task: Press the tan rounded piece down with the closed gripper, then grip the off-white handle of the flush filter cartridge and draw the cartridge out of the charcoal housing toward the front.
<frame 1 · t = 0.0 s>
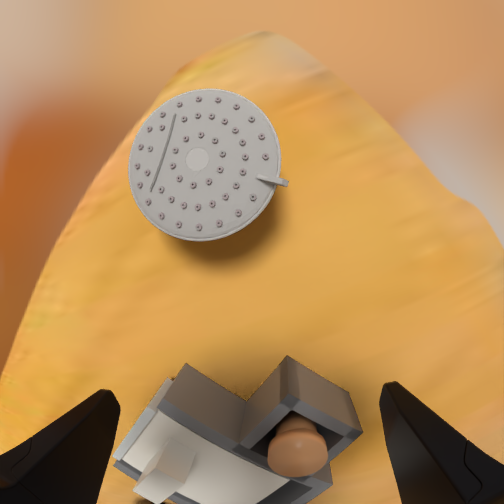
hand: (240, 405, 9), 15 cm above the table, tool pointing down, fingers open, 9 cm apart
cartridge: (196, 470, 21), point 5 cm above the table, slide at 0.0 cm
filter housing: (225, 443, 26), on the table
showerhead: (223, 176, 23), on the table
tan rounded piece: (296, 441, 19), point 6 cm above the table, slide at 0.0 cm
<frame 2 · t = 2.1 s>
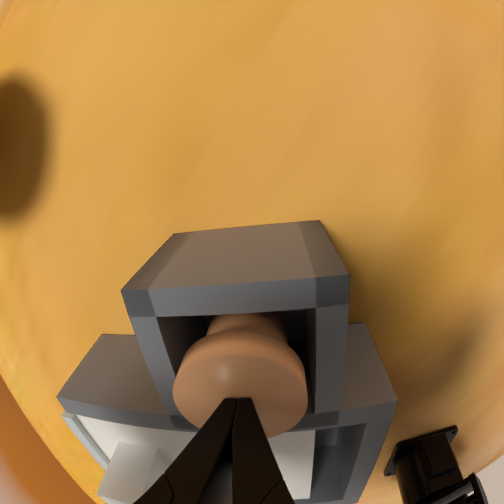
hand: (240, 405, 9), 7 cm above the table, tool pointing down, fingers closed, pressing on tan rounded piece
cartridge: (193, 467, 14), point 5 cm above the table, slide at 0.0 cm
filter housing: (236, 403, 19), on the table
tan rounded piece: (244, 362, 10), point 5 cm above the table, slide at 0.2 cm, touching gripper
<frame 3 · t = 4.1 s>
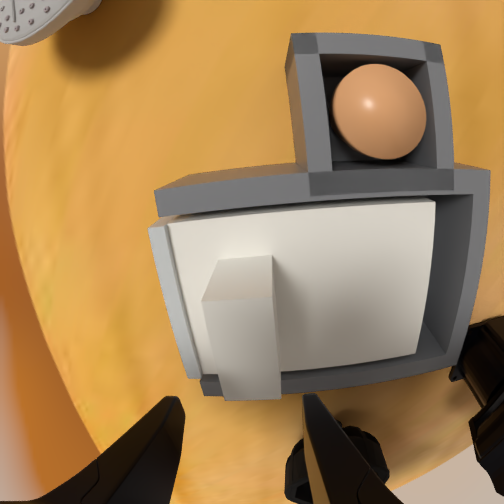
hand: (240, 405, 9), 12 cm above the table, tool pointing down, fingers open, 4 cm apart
cartridge: (303, 298, 14), point 5 cm above the table, slide at 0.0 cm
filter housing: (325, 254, 19), on the table
showerhead: (94, 1, 14), on the table
filter: (341, 422, 26), on the table
tan rounded piece: (368, 114, 13), point 4 cm above the table, slide at 1.8 cm
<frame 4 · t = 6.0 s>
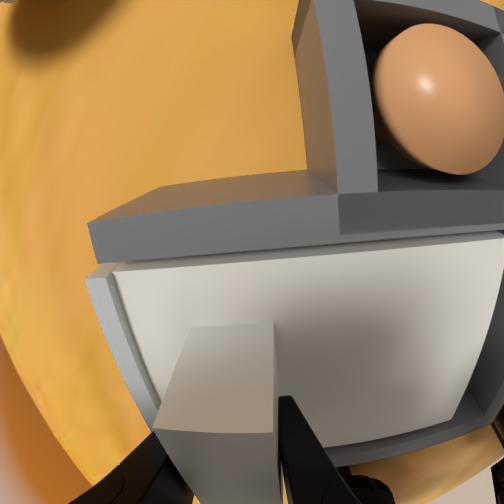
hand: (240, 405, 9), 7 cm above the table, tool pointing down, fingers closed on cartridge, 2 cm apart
cartridge: (317, 374, 9), point 5 cm above the table, slide at 0.0 cm, touching gripper
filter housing: (344, 293, 14), on the table
filter: (349, 465, 20), on the table
tan rounded piece: (420, 102, 8), point 4 cm above the table, slide at 1.8 cm
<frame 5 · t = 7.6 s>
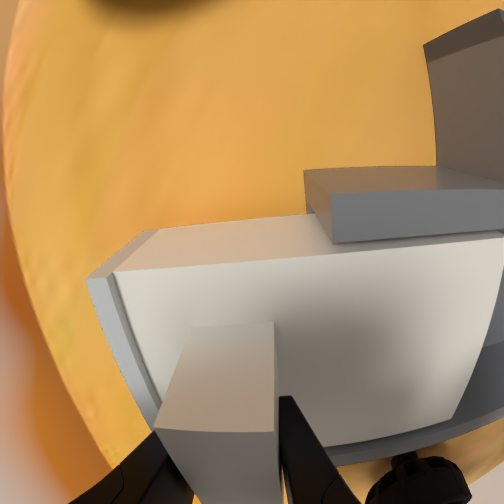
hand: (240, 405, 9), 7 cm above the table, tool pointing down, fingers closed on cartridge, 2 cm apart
cartridge: (317, 374, 9), point 5 cm above the table, slide at 6.3 cm, touching gripper
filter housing: (451, 279, 14), on the table
filter: (415, 450, 20), on the table
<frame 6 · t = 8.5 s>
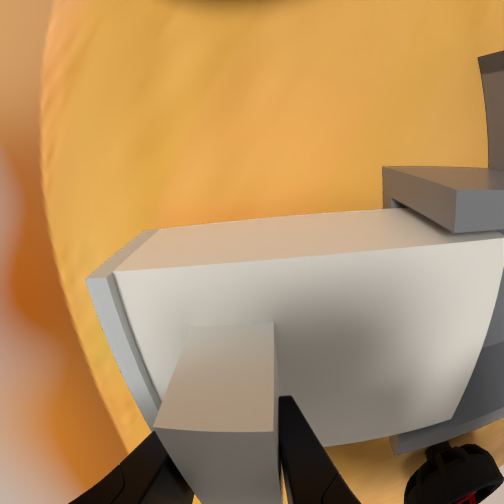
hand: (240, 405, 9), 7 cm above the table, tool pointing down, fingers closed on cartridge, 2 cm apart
cartridge: (317, 374, 9), point 5 cm above the table, slide at 9.9 cm, touching gripper
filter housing: (495, 272, 13), on the table
filter: (446, 440, 20), on the table
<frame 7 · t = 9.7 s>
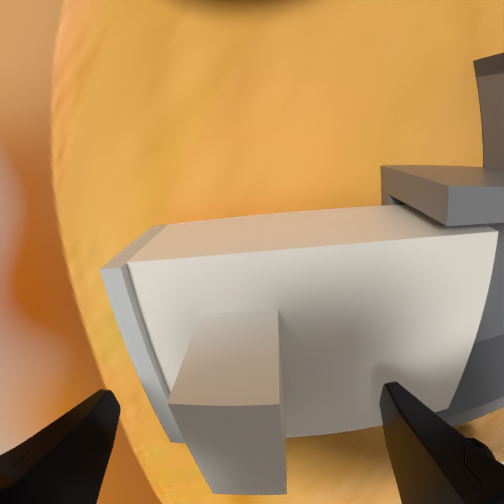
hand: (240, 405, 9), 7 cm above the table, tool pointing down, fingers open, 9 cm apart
cartridge: (318, 360, 10), point 5 cm above the table, slide at 9.9 cm
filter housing: (491, 267, 14), on the table
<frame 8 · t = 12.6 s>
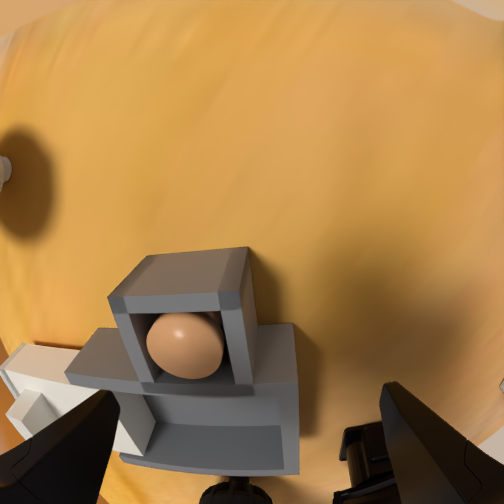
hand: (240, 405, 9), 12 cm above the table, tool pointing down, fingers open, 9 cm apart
cartridge: (65, 412, 20), point 5 cm above the table, slide at 9.9 cm
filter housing: (200, 384, 24), on the table
showerhead: (7, 167, 18), on the table
filter: (249, 475, 30), on the table
tan rounded piece: (191, 329, 17), point 4 cm above the table, slide at 1.8 cm
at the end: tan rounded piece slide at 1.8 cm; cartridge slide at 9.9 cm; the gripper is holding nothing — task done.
